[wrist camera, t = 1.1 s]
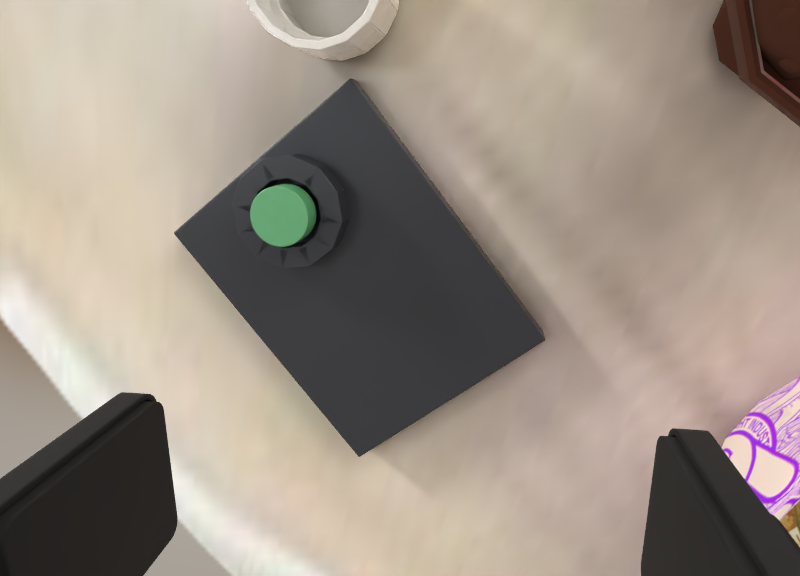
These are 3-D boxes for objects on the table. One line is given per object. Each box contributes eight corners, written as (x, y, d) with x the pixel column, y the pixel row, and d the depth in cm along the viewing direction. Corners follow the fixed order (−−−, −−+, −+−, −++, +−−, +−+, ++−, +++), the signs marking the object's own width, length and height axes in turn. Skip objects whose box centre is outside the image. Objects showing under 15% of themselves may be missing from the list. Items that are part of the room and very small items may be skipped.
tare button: (249, 207, 31) (237, 211, 30) (291, 171, 31) (281, 173, 29) (285, 252, 32) (276, 258, 30) (328, 218, 31) (320, 223, 30)
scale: (184, 229, 35) (158, 237, 32) (356, 79, 31) (343, 75, 29) (363, 445, 38) (353, 472, 35) (543, 331, 34) (548, 350, 31)
